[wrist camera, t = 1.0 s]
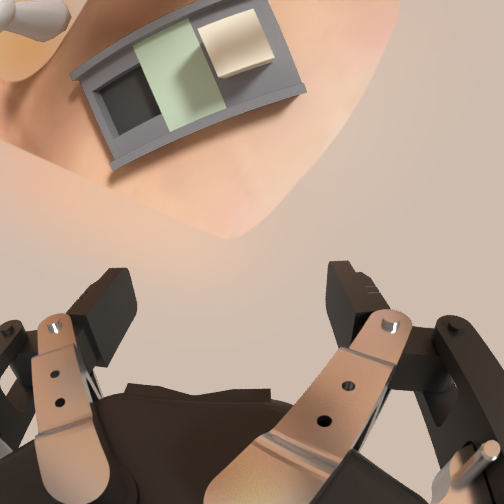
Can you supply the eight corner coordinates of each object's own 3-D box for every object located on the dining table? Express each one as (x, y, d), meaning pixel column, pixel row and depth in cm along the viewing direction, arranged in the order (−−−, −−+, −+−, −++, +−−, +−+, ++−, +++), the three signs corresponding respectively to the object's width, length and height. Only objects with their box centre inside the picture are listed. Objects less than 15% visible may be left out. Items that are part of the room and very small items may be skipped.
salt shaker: (59, 48, 25) (-13, 50, 14) (36, 34, 23) (-34, 35, 12) (84, 9, 23) (15, -5, 11) (58, -4, 21) (-9, -16, 10)
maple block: (207, 37, 24) (197, 28, 20) (254, 20, 23) (253, 8, 19) (225, 78, 27) (218, 77, 22) (272, 62, 26) (274, 57, 21)
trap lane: (85, 73, 27) (69, 73, 24) (259, -11, 23) (259, -21, 20) (125, 162, 33) (112, 171, 30) (302, 91, 29) (307, 92, 26)
